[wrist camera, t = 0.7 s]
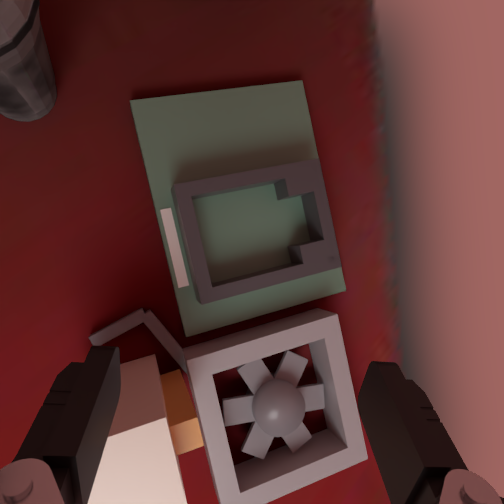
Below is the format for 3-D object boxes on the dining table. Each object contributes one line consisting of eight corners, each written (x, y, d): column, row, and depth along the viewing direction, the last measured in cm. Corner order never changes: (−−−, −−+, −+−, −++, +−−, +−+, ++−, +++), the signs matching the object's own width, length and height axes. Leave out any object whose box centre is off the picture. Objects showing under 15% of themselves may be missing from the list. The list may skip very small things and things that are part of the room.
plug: (86, 374, 29) (51, 456, 17) (174, 348, 30) (196, 406, 19) (101, 430, 29) (76, 549, 17) (187, 401, 31) (217, 491, 19)
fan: (86, 321, 28) (80, 331, 25) (308, 263, 33) (327, 265, 30) (138, 524, 30) (138, 559, 26) (345, 438, 34) (368, 458, 31)
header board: (130, 105, 29) (129, 86, 26) (297, 85, 33) (315, 66, 30) (184, 334, 30) (190, 344, 27) (340, 289, 34) (362, 293, 31)
